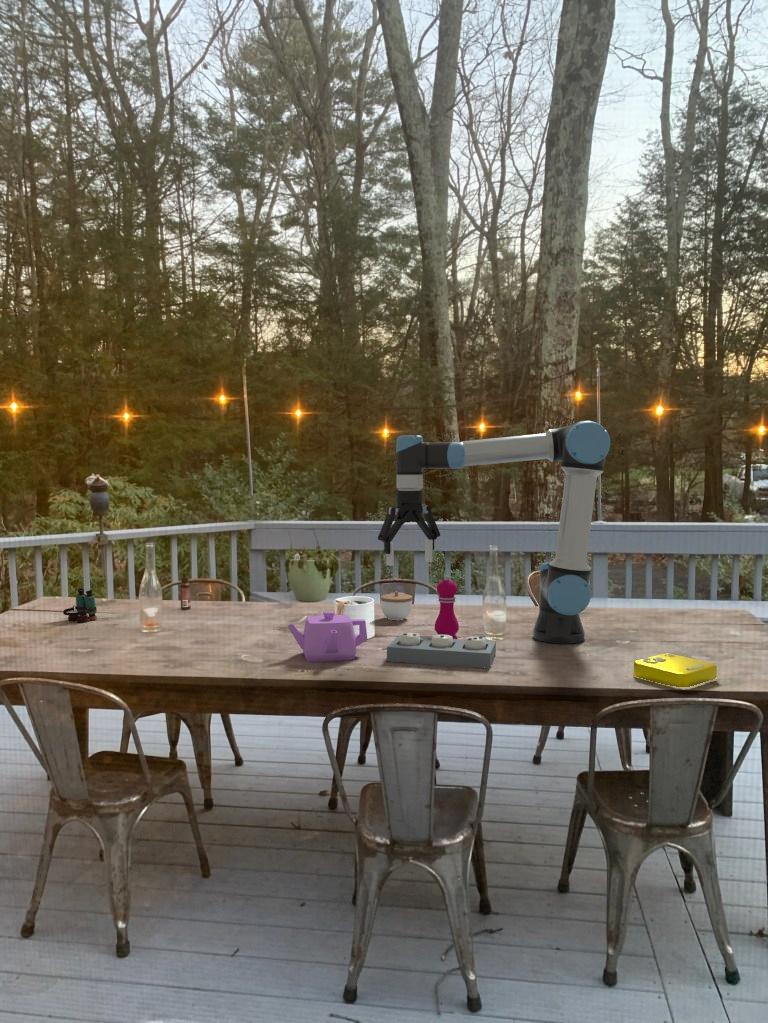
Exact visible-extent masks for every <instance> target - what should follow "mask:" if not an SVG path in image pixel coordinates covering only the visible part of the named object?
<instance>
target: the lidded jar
mask: <svg viewBox="0 0 768 1023" xmlns="http://www.w3.org/2000/svg"><path fill="white" fill-rule="evenodd" d="M412 605H413V596H412V595H411V594H406V593H399V591H397V590H395V591H394V593H386V594H383V595H380V608H381V611H382V614H383V615H384V616H385V617H386V619H387V618H389V619H394V620H401V621H403V620H402V619H405V620H406V618H408V616H409V615H410V613H411V612H412Z"/></svg>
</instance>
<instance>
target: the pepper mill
mask: <svg viewBox="0 0 768 1023" xmlns="http://www.w3.org/2000/svg"><path fill="white" fill-rule="evenodd" d="M450 579H451V577H450V575H448V574H446V575H444V576H443V580H441V581H440V582H438V584H437V586H436V592H437V594H438V600H437V601H438V603H439V606H440V607H439V613H438V616H437V618H436V619H435V622H434V631H435V632H436V634H437V635H450V636H452V637H453V639H458V635H457V633H458V632H459V630H460V625H459V621H458V619H457V616H456V614H455V611H454V609H455V608H454V604H455V602H456V596H455V595H456V594H457V592H458V586H457V584H456V582H455V581H452V580H450Z"/></svg>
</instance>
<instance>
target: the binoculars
mask: <svg viewBox="0 0 768 1023" xmlns="http://www.w3.org/2000/svg"><path fill="white" fill-rule="evenodd" d="M77 593H78V594H76V595H75V604H76V605H74V606H72V607H69V608H65V609H63V615H64V616H67V621H68V622H70V623H71V622H76V623H77V624H78V623H83V622H86V621H88V620H90V621H95V620H98V618H97V615H96V614H97V612H98V611H97V610H98V609H97V605H96V604H97V603H96V599H95V596H94V595H93V589H89V590H86V591H85V589H84V588H82V587H78V588H77Z"/></svg>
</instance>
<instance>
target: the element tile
mask: <svg viewBox="0 0 768 1023" xmlns="http://www.w3.org/2000/svg"><path fill="white" fill-rule="evenodd" d="M717 672H718V666H717V665H716V664H715V663H711V662H707V661H704V660H700V659H695V658H691V657H687V656H683V655H678V654H673V653H670V652H667V653H661V654H657V655H653V656H649V657H645V658H641V659H637V660H634V661H633V677H634V676H636V677H639V678H643V679H646V680H650V681H653V682H657V683H661V684H665V685H670V686H676V687H690V686H694V685H697V684H700V683H703V682H706V681H709V680H713V679H715V678H716V677H718V676H717V674H718V673H717Z"/></svg>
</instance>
